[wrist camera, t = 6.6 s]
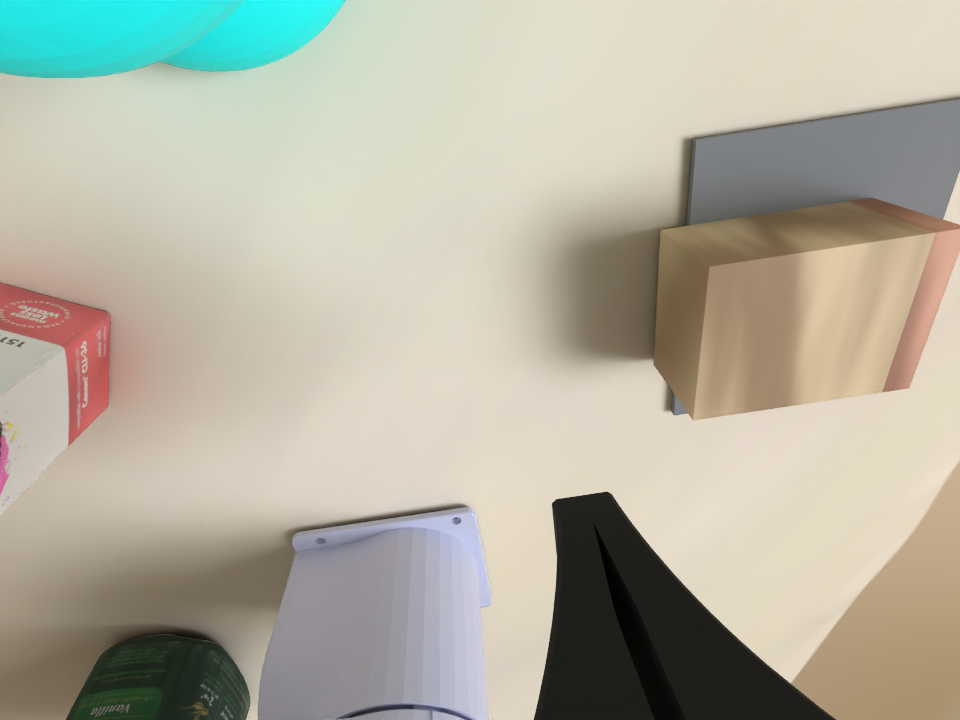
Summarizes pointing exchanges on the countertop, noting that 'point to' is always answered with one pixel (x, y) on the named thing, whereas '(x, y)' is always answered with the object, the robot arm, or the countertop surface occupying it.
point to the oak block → (798, 304)
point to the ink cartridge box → (46, 381)
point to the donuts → (153, 34)
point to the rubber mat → (828, 165)
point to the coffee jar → (163, 682)
